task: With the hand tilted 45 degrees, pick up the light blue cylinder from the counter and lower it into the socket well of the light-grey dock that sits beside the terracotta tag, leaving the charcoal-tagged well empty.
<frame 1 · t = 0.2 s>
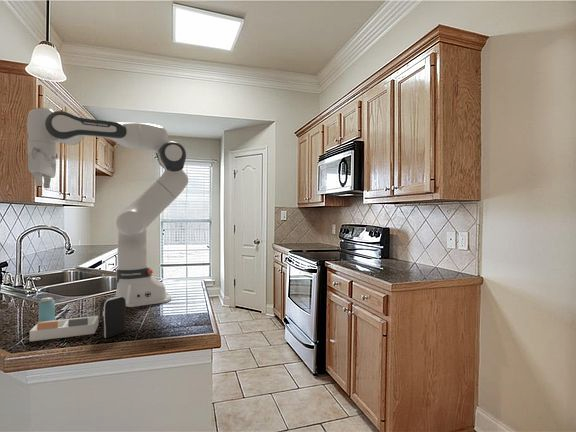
hand: (42, 187, 129), 47 cm above the table, tool pointing down, fingers open, 8 cm apart
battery: (112, 335, 104), on the table
dock: (66, 332, 105), on the table
light blue cylinder: (47, 325, 112), on the table
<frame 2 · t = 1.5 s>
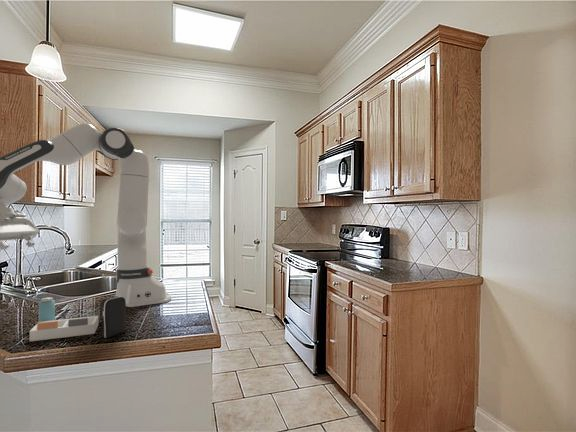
hand: (19, 246, 116), 26 cm above the table, tool tilted 45°, fingers open, 8 cm apart
nothing on the table moved.
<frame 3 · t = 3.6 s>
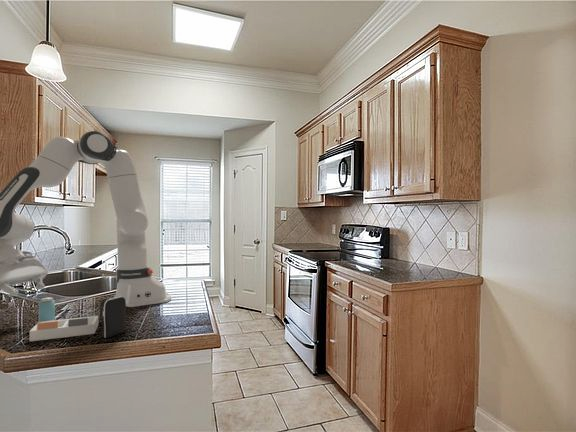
hand: (29, 291, 113), 11 cm above the table, tool tilted 45°, fingers open, 8 cm apart
nothing on the table moved.
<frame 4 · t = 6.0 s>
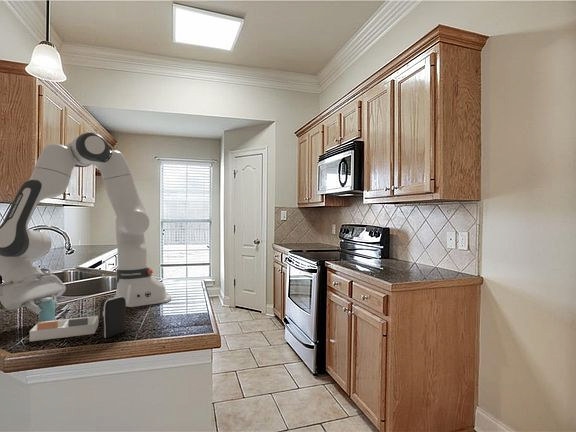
hand: (48, 309, 112), 5 cm above the table, tool tilted 45°, fingers closed on light blue cylinder, 4 cm apart
light blue cylinder: (46, 325, 112), on the table, touching gripper
everything else where it was.
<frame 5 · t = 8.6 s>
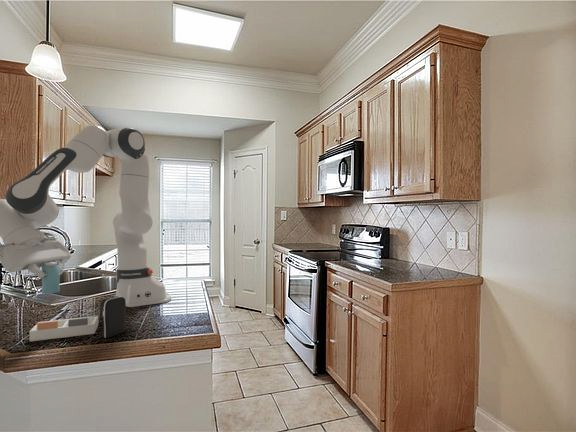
hand: (52, 275, 104), 18 cm above the table, tool tilted 45°, fingers closed on light blue cylinder, 4 cm apart
light blue cylinder: (50, 292, 104), point 13 cm above the table, touching gripper
everything else where it was.
when the fingers open (8 cm above the table, at t = 11.4 s): light blue cylinder drops 2 cm, resting on dock.
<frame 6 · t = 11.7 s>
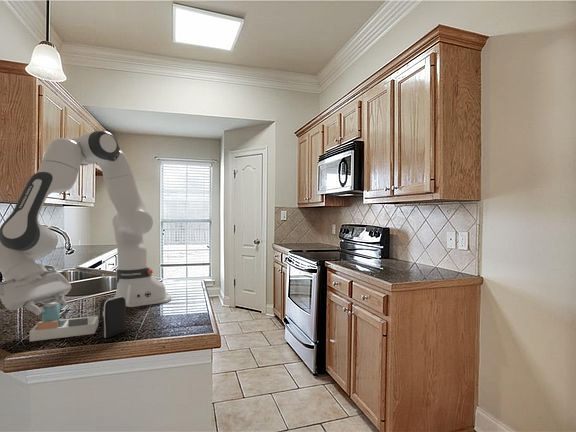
hand: (53, 309, 104), 8 cm above the table, tool tilted 45°, fingers open, 7 cm apart
light blue cylinder: (51, 332, 104), point 1 cm above the table, touching dock
everything else where it was.
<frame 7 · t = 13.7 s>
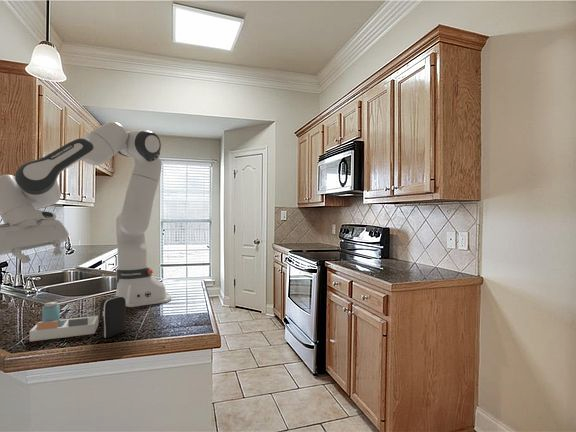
hand: (43, 258, 105), 23 cm above the table, tool tilted 35°, fingers open, 8 cm apart
nothing on the table moved.
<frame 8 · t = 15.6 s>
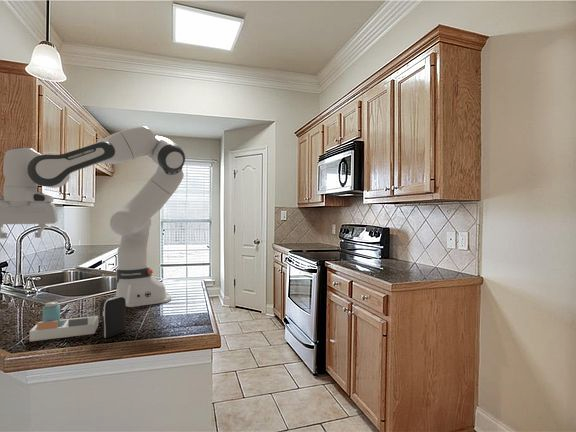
hand: (21, 237, 113), 29 cm above the table, tool pointing down, fingers open, 8 cm apart
nothing on the table moved.
at the end: light blue cylinder 0.0 cm from the target spot on the dock, point 0.6 cm above the dock's base; light blue cylinder tilted 1°; the gripper is holding nothing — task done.
